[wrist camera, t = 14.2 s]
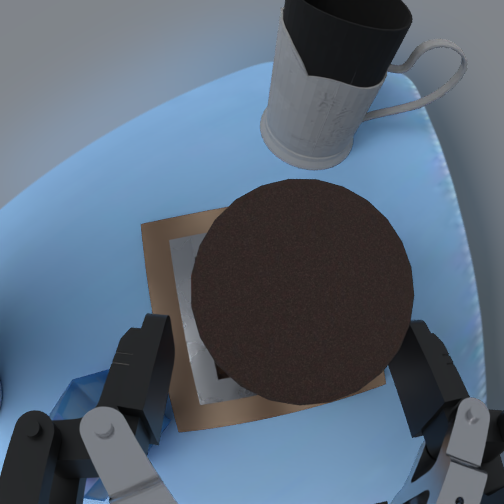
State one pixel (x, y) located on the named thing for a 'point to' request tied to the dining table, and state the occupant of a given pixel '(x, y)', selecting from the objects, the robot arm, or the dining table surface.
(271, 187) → the deodorant
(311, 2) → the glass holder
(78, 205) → the dining table surface
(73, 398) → the perfume bottle
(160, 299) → the locating plate
